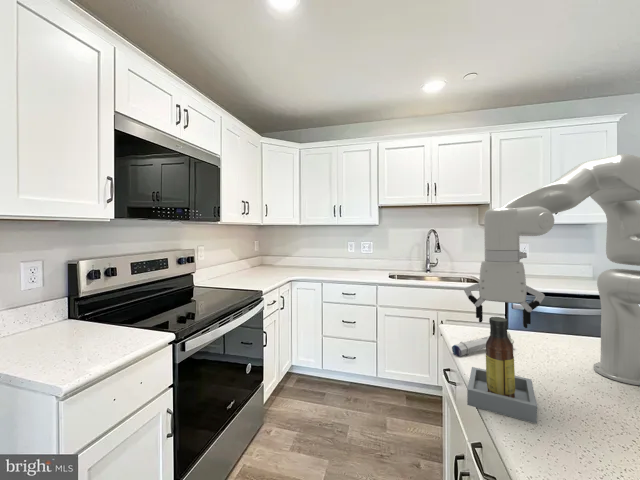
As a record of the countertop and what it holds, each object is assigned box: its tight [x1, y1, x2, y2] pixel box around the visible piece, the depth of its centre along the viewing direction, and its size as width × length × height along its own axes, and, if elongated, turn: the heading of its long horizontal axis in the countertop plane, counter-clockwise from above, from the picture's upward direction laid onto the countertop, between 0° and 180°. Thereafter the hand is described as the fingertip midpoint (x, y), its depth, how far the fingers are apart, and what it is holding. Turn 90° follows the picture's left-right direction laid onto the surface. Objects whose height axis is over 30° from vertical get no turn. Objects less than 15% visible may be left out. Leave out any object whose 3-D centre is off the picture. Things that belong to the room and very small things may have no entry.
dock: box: [466, 366, 538, 425], centre depth 75 cm, size 14×14×4 cm
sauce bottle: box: [485, 316, 516, 398], centre depth 75 cm, size 6×6×20 cm
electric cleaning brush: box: [451, 331, 515, 357], centre depth 105 cm, size 5×7×25 cm
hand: (502, 323), depth 74 cm, fingers open, 9 cm apart
